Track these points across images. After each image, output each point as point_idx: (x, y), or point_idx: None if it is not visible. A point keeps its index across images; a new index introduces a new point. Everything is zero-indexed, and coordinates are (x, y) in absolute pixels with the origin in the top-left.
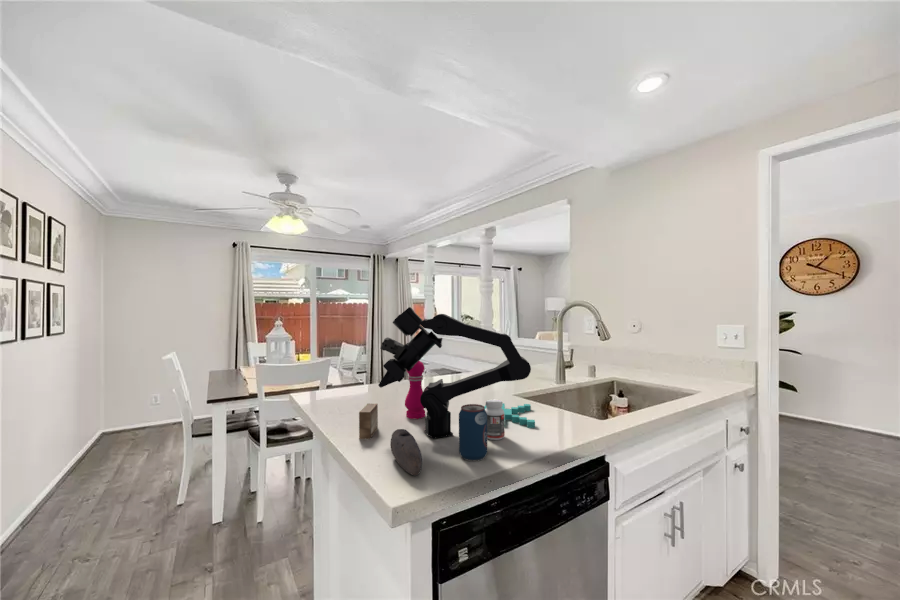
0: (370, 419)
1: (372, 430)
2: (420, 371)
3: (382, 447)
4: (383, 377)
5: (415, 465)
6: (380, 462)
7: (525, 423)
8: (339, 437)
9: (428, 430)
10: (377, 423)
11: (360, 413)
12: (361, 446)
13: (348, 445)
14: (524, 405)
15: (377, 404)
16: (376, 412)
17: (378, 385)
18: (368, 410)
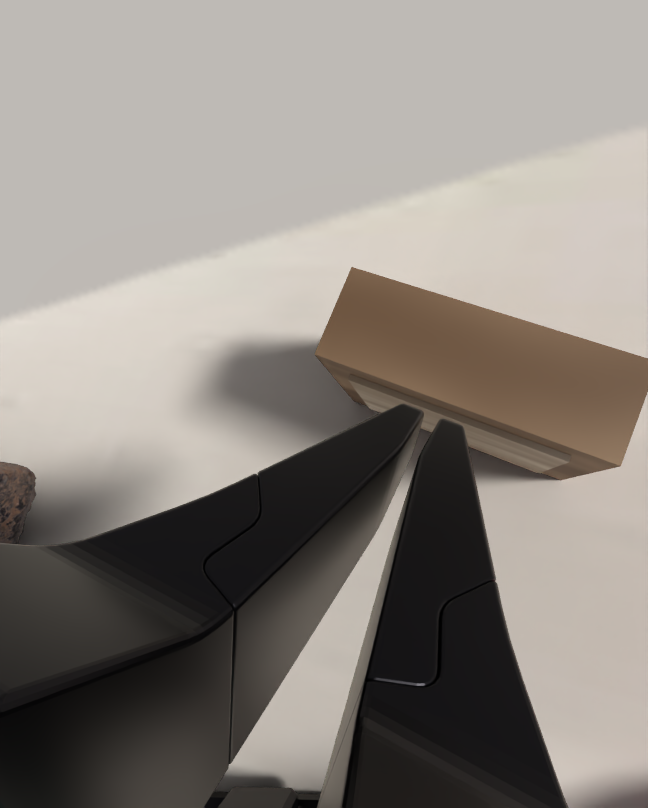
0: (345, 378)
1: None
2: None
3: (198, 452)
4: (271, 467)
5: None
6: (33, 414)
7: None
8: (451, 227)
9: (219, 805)
10: (538, 470)
11: (348, 282)
12: (257, 344)
13: (298, 278)
14: None
15: (611, 464)
16: (521, 449)
17: (405, 406)
18: (374, 347)
